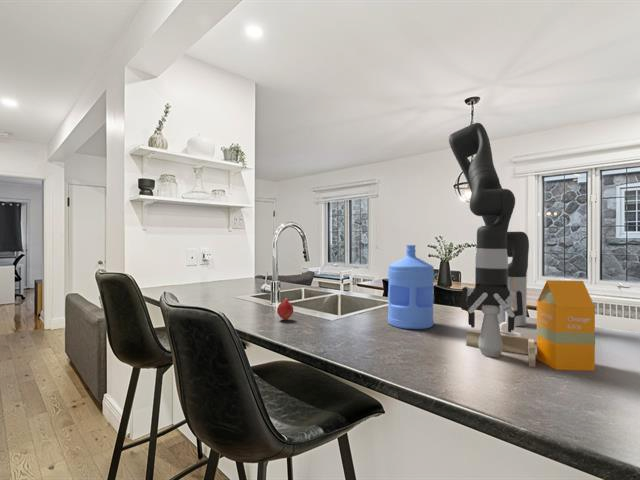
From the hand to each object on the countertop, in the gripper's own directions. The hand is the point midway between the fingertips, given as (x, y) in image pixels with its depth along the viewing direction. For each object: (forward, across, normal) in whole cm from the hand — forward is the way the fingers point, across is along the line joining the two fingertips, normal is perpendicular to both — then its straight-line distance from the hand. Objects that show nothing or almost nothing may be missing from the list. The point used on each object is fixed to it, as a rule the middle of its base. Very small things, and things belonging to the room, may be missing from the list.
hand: (490, 329), depth 90 cm
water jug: (+7, -27, +23) cm, 36 cm away
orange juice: (+7, +16, +2) cm, 17 cm away
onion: (+7, -68, +5) cm, 69 cm away
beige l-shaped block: (+7, +2, +1) cm, 7 cm away
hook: (+7, +4, +21) cm, 22 cm away
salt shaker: (+7, 0, 0) cm, 7 cm away
